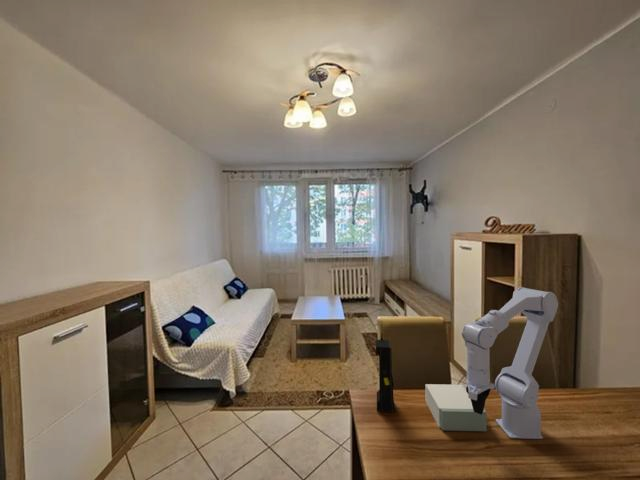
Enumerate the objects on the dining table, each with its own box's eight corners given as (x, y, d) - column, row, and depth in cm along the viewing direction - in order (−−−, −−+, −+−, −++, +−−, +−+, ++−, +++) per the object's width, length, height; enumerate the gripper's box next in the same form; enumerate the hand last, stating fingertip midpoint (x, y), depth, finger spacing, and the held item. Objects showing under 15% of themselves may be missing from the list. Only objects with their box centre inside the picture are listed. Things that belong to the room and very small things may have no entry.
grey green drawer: (466, 404, 99) (466, 387, 99) (486, 431, 86) (486, 412, 86) (428, 403, 100) (428, 387, 100) (442, 430, 87) (442, 411, 87)
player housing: (465, 401, 101) (464, 384, 101) (485, 428, 87) (485, 409, 87) (425, 400, 102) (425, 384, 102) (439, 427, 88) (439, 408, 88)
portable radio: (395, 415, 95) (394, 341, 94) (376, 413, 96) (375, 340, 95) (393, 401, 102) (392, 333, 102) (376, 399, 104) (375, 332, 103)
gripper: (489, 381, 73) (489, 432, 73) (498, 360, 84) (498, 405, 84) (459, 372, 77) (460, 421, 78) (472, 354, 88) (472, 396, 89)
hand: (478, 412), depth 81 cm, fingers closed
